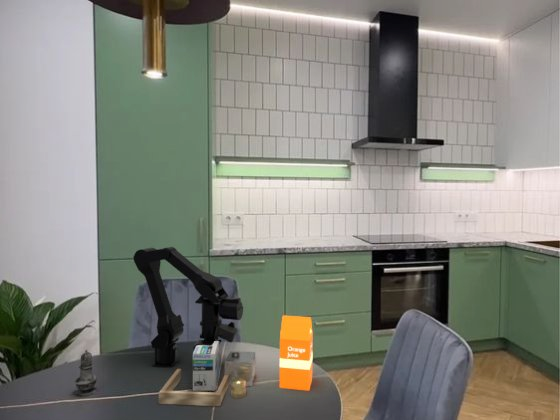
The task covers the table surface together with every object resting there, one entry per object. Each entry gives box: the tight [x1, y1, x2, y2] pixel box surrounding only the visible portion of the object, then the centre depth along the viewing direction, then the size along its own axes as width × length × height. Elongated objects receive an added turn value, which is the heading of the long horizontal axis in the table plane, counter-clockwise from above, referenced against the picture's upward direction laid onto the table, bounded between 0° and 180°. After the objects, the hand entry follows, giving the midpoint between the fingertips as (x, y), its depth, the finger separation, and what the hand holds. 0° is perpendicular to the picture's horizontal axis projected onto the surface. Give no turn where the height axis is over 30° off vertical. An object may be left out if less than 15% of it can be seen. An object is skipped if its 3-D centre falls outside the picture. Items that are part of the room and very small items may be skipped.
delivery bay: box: [158, 368, 230, 407], centre depth 108 cm, size 16×15×3 cm
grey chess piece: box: [74, 349, 99, 397], centre depth 107 cm, size 6×6×12 cm
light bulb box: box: [192, 341, 220, 392], centre depth 113 cm, size 11×7×11 cm, turn 3°
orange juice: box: [279, 315, 314, 391], centre depth 113 cm, size 8×9×20 cm
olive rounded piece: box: [230, 377, 247, 399], centre depth 107 cm, size 4×4×4 cm
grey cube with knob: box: [224, 350, 257, 387], centre depth 116 cm, size 8×8×8 cm
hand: (210, 365), depth 123 cm, fingers closed
